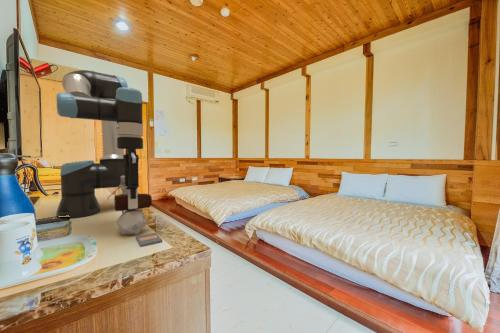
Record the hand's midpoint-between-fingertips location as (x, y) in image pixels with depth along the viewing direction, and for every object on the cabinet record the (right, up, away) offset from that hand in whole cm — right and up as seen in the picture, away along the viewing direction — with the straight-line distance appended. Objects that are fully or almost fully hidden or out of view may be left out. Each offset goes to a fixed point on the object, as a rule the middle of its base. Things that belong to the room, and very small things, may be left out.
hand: (131, 206), depth 74 cm
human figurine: (-10, -8, +14) cm, 19 cm away
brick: (0, -1, 0) cm, 1 cm away
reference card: (+8, -9, -6) cm, 14 cm away
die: (0, -9, 0) cm, 9 cm away
